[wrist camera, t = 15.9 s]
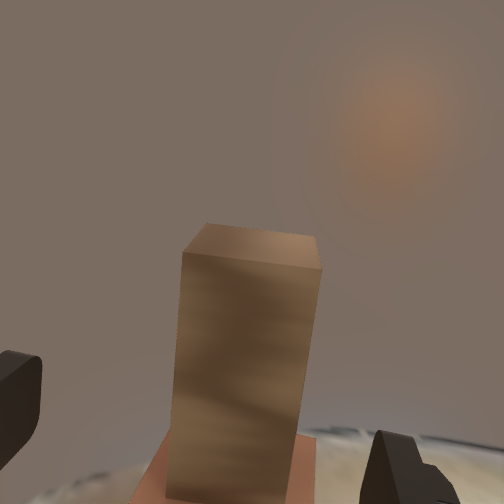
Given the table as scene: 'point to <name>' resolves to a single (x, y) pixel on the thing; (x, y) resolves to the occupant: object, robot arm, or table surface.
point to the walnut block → (240, 363)
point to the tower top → (153, 500)
